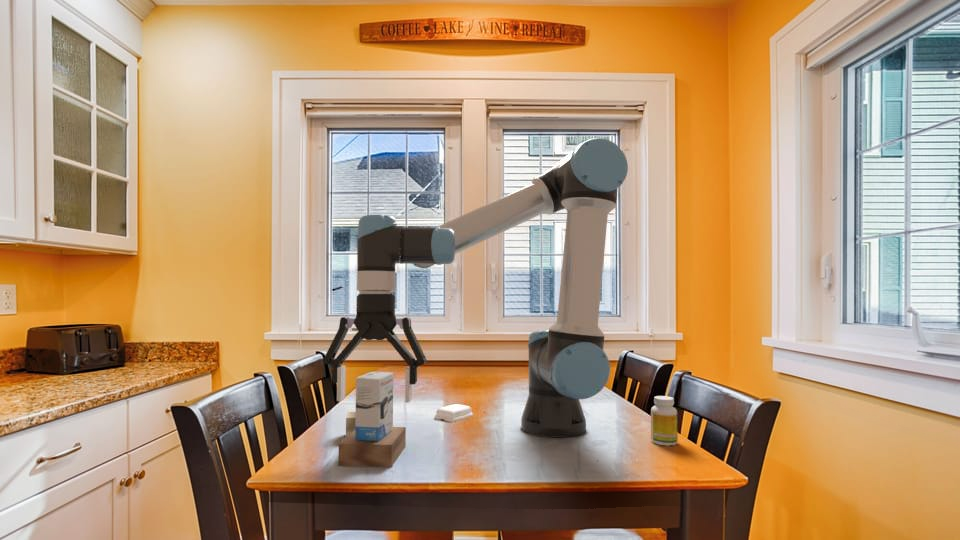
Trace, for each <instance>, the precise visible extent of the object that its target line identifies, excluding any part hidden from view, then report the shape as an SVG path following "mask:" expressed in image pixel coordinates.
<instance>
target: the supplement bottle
mask: <svg viewBox="0 0 960 540" xmlns="http://www.w3.org/2000/svg"><path fill="white" fill-rule="evenodd" d="M653 398H654V399H653V403H654V405H653V406H652V407H651V409H650V439H651V442H652V443H653V444H655V445H659V446H663V445H665V446H666V447H670V445H673V446H676V445H677V444H678V437H679V436H678V411H677V409H676V407H673V406H674V404H675V399H674V397H672V396H667V395H656V396H654V397H653ZM665 446H664V447H665Z"/></svg>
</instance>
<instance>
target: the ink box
mask: <svg viewBox="0 0 960 540" xmlns="http://www.w3.org/2000/svg"><path fill="white" fill-rule="evenodd" d="M394 375H395V373H394V372H388V371H387V372H385V371H370V372H367V373H365V374H363V375H359V376H357V377H356V379H355V412H356V414H355V440H365V441H379V440H380V439H381V438H383V437H384V436H385V435H386V434H388V433H389V432H390V431H391V430H393V427H394V379H395V378H394Z"/></svg>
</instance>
